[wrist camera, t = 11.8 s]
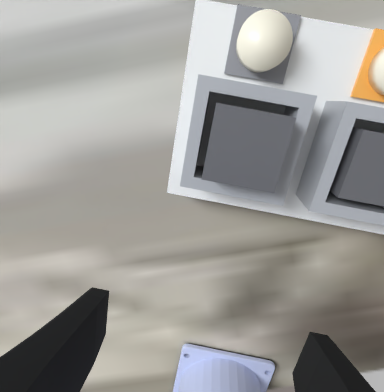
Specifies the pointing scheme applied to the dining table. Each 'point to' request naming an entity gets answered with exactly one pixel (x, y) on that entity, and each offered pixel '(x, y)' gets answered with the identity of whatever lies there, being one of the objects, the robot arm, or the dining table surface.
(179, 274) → the dining table surface
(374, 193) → the dark grey square block
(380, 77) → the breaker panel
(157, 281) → the dining table surface
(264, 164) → the block
